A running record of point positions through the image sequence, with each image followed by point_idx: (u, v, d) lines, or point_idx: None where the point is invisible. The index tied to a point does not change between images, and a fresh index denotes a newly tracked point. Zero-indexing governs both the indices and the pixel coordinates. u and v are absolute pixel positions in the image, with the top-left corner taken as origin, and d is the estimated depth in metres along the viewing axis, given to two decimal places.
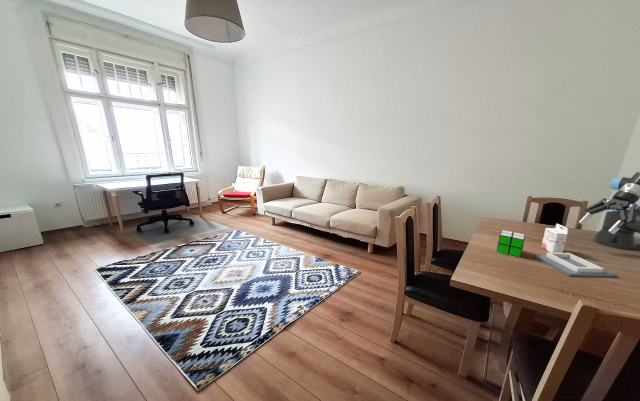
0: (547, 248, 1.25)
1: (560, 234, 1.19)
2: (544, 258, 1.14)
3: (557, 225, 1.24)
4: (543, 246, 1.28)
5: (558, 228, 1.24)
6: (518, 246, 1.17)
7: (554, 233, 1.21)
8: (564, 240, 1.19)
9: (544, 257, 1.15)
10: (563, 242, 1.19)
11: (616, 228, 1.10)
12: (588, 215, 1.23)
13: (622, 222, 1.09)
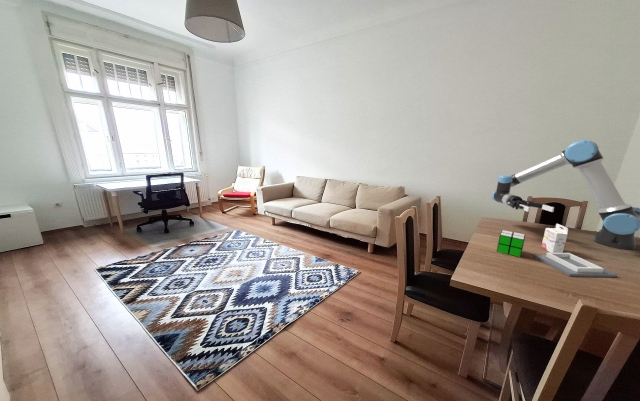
0: (547, 248, 1.25)
1: (560, 234, 1.19)
2: (544, 258, 1.14)
3: (557, 225, 1.24)
4: (543, 246, 1.28)
5: (558, 228, 1.24)
6: (518, 246, 1.17)
7: (554, 233, 1.21)
8: (564, 240, 1.19)
9: (544, 257, 1.15)
10: (563, 242, 1.19)
11: (524, 208, 1.34)
12: (543, 208, 1.36)
13: (518, 207, 1.38)
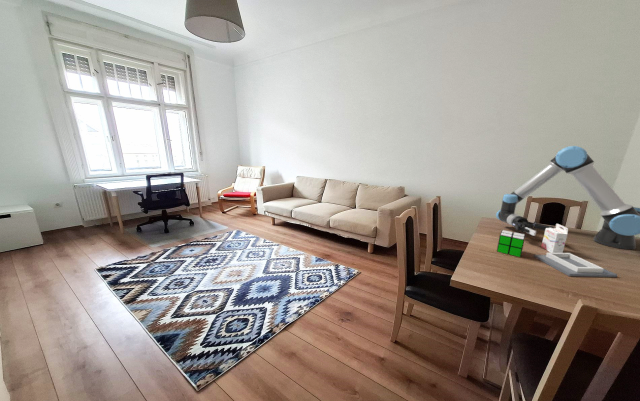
0: (547, 248, 1.25)
1: (560, 234, 1.19)
2: (544, 258, 1.14)
3: (557, 225, 1.24)
4: (543, 246, 1.28)
5: (558, 228, 1.24)
6: (518, 246, 1.17)
7: (554, 233, 1.21)
8: (564, 240, 1.19)
9: (544, 257, 1.15)
10: (563, 242, 1.19)
11: (530, 231, 1.30)
12: None
13: None
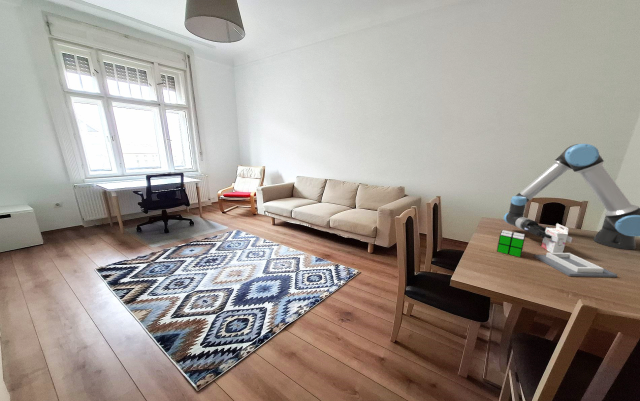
0: (547, 248, 1.25)
1: (560, 234, 1.19)
2: (544, 258, 1.14)
3: (558, 225, 1.24)
4: (543, 246, 1.28)
5: (558, 228, 1.24)
6: (518, 246, 1.17)
7: (554, 233, 1.21)
8: (564, 240, 1.19)
9: (544, 257, 1.15)
10: (563, 242, 1.19)
11: (552, 237, 1.21)
12: None
13: None
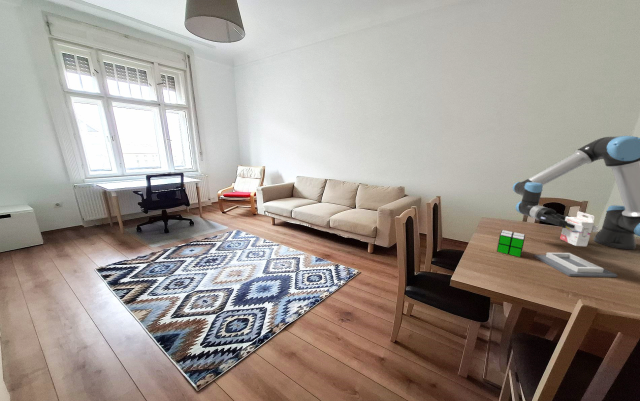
0: (568, 240, 1.08)
1: (585, 223, 1.02)
2: (544, 258, 1.14)
3: (579, 213, 1.07)
4: (563, 238, 1.11)
5: (580, 216, 1.07)
6: (518, 246, 1.17)
7: (578, 222, 1.04)
8: (590, 230, 1.02)
9: (544, 257, 1.15)
10: (588, 232, 1.03)
11: (575, 227, 1.04)
12: None
13: None
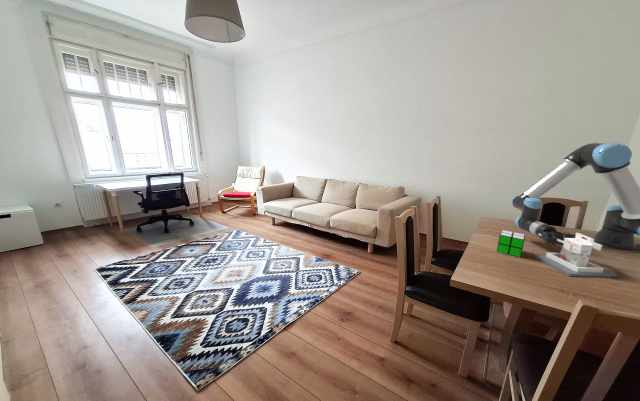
0: (568, 261, 1.08)
1: (585, 246, 1.02)
2: (544, 258, 1.14)
3: (578, 235, 1.08)
4: None
5: (579, 238, 1.07)
6: (518, 246, 1.17)
7: (577, 245, 1.04)
8: (589, 252, 1.03)
9: (544, 257, 1.15)
10: (588, 255, 1.03)
11: (564, 245, 1.06)
12: None
13: None
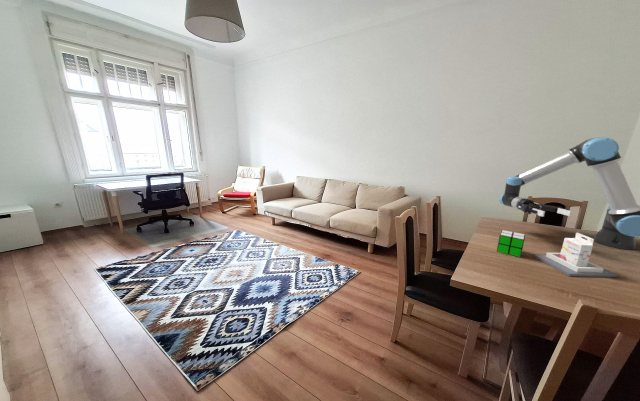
0: (568, 261, 1.08)
1: (585, 246, 1.02)
2: (544, 258, 1.14)
3: (578, 235, 1.08)
4: None
5: (579, 238, 1.07)
6: (518, 246, 1.17)
7: (577, 245, 1.04)
8: (589, 252, 1.03)
9: (544, 257, 1.15)
10: (588, 255, 1.03)
11: (538, 212, 1.22)
12: (559, 212, 1.24)
13: None
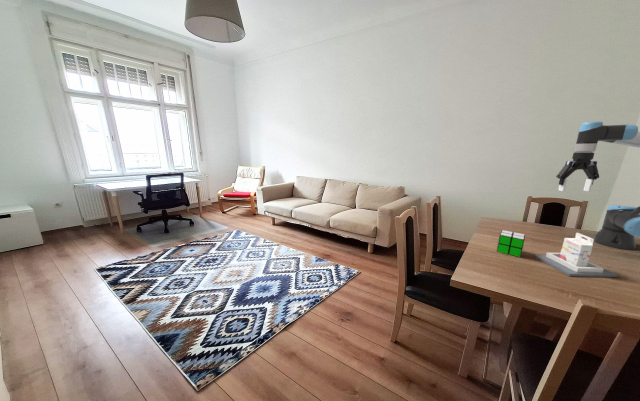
0: (568, 261, 1.08)
1: (585, 246, 1.02)
2: (544, 258, 1.14)
3: (578, 235, 1.08)
4: None
5: (579, 238, 1.07)
6: (518, 246, 1.17)
7: (577, 245, 1.04)
8: (589, 252, 1.03)
9: (544, 257, 1.15)
10: (588, 255, 1.03)
11: (561, 186, 1.26)
12: (587, 181, 1.26)
13: None
